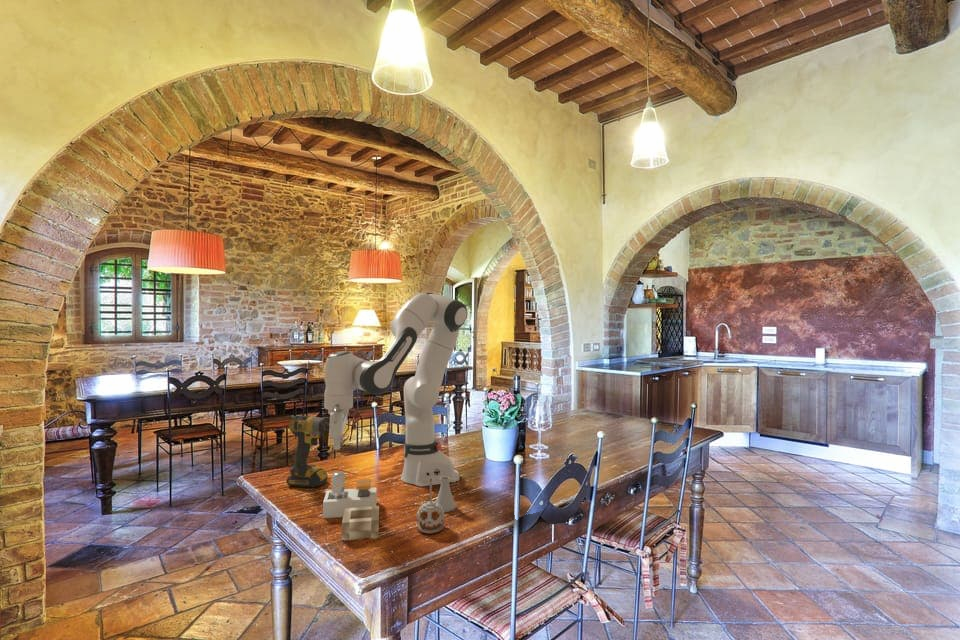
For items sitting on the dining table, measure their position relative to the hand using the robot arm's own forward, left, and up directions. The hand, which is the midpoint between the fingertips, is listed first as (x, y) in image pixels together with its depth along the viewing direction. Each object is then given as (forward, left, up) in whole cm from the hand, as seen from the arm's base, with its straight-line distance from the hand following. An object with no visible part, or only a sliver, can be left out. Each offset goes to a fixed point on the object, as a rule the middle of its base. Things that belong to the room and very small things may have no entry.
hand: (338, 445), depth 151 cm
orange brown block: (-8, 0, -20) cm, 21 cm away
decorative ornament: (-28, +18, -21) cm, 40 cm away
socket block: (-4, 0, -21) cm, 21 cm away
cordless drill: (+11, -26, -21) cm, 35 cm away
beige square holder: (-8, +16, -21) cm, 28 cm away
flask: (-34, +4, -21) cm, 40 cm away
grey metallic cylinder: (0, 0, -21) cm, 21 cm away
